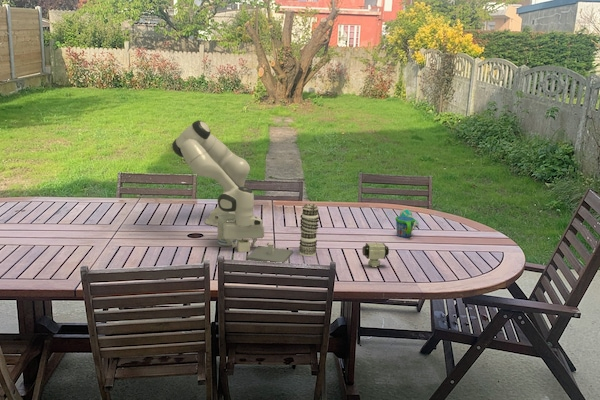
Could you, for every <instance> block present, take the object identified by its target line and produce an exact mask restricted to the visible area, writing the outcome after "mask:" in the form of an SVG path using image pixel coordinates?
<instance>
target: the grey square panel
mask: <svg viewBox="0 0 600 400" xmlns="http://www.w3.org/2000/svg"><path fill="white" fill-rule="evenodd" d="M293 253H294V250H293V249H292V250H291V249H285V248H278V247H274V243H273V242H269V243H268V244H267V246H264V245H257V246H256V247H255V248H254V249H253V250H252V251H250V253H249V254H248V255H247V256H246V260H247V259H248V261H253V260H254V261H255V262H260V261H270V262H282V263H284V262H285V261H286V262H287V260H289V258H290V257H291V256H292V255H293ZM286 262H285V263H286ZM285 263H284V264H285Z"/></svg>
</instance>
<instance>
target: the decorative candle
mask: <svg viewBox="0 0 600 400" xmlns="http://www.w3.org/2000/svg"><path fill="white" fill-rule="evenodd" d="M317 206H318V205H316V204H314V203H306V204H304V205H303V206H302V207H301V208H302V213H301V215H300V218H301V219H300V232H301V233H300V238H299V241H300V242H299V246H298V247H299V249H298V253H299V255H300V256H303V257H315V256H316V255H317V242H318V240H317V233H318V229H319V227H318V226H319V224H318V223H319V222H320V220H319V219H320V217H319V207H317Z"/></svg>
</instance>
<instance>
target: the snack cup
mask: <svg viewBox="0 0 600 400" xmlns="http://www.w3.org/2000/svg"><path fill="white" fill-rule="evenodd" d="M412 217H413V216H412ZM412 217H408V216H400V215H398V216H396V217H395V222H396V223H395V224H396V225H395V226H396V235H397V236H398V237H401V238H410V237H411V235H412V231H413V230H412V228H413V224H414V222H415V220H416V219H415V218H414V217H413V218H412Z"/></svg>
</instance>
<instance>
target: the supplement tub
mask: <svg viewBox="0 0 600 400" xmlns="http://www.w3.org/2000/svg"><path fill="white" fill-rule="evenodd" d="M227 220H229V221H231V220H235V214H231V213H224V214H220V215H218V226H217V243H218V244H219V245H220V246H224V247H226V246H227V247H229V246H231V247H232V243H231V241H230V239H224V237H223V230H224V229H223V223H224V222H225V221H227ZM225 223H226V222H225ZM233 243H235V244H237V239H234V240H233Z"/></svg>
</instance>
